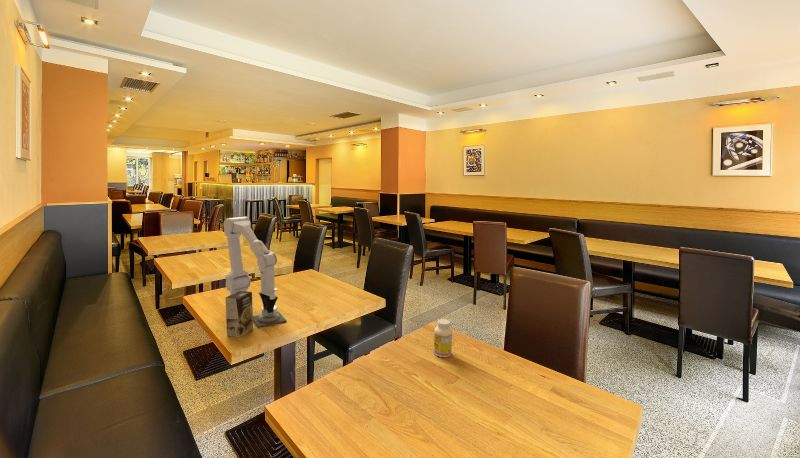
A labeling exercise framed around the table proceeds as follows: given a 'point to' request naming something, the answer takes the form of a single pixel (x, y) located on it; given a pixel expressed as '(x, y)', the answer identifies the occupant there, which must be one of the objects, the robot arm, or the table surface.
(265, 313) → the grey metal ring
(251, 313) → the coffee box
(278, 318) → the hub
